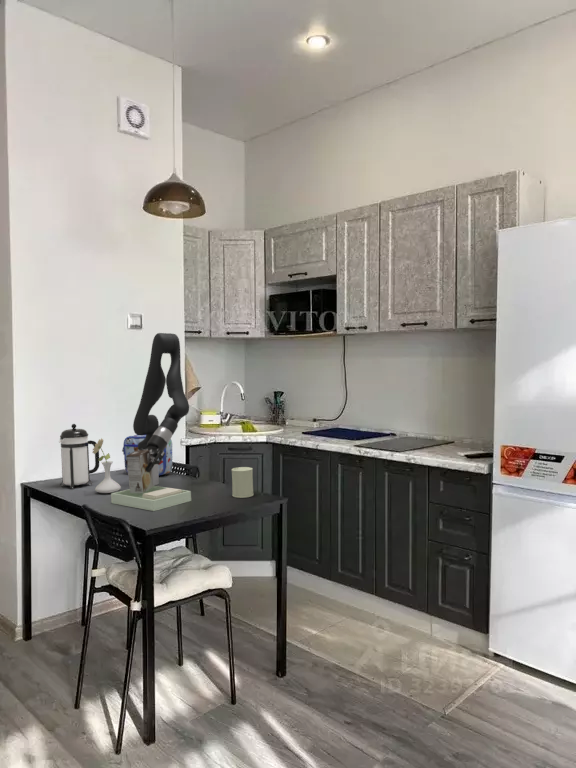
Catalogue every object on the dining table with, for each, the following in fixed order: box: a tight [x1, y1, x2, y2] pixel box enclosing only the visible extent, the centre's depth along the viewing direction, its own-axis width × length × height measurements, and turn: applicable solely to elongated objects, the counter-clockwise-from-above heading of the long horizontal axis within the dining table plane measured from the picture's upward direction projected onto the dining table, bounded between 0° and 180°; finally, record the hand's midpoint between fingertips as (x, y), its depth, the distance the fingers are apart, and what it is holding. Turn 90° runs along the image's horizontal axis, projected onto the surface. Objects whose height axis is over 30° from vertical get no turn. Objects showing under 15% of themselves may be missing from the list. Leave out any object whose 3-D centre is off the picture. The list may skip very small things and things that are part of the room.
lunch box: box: [121, 434, 173, 476], centre depth 324 cm, size 28×10×22 cm, turn 68°
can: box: [231, 466, 254, 499], centre depth 269 cm, size 9×9×12 cm
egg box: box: [142, 487, 182, 500], centre depth 253 cm, size 8×14×5 cm, turn 143°
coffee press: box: [58, 423, 100, 489], centre depth 300 cm, size 17×16×30 cm
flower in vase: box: [92, 437, 122, 494], centre depth 282 cm, size 13×11×25 cm
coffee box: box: [126, 450, 153, 493], centre depth 259 cm, size 9×6×16 cm
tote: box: [110, 485, 192, 512], centre depth 257 cm, size 26×20×5 cm
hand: (140, 470), depth 260 cm, fingers closed on coffee box, 8 cm apart
